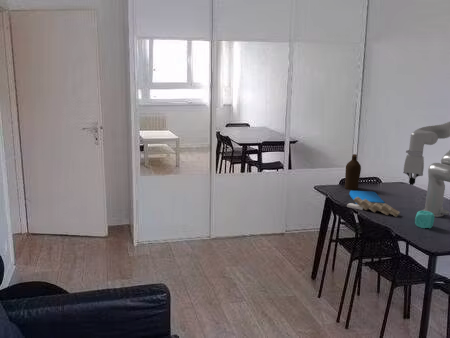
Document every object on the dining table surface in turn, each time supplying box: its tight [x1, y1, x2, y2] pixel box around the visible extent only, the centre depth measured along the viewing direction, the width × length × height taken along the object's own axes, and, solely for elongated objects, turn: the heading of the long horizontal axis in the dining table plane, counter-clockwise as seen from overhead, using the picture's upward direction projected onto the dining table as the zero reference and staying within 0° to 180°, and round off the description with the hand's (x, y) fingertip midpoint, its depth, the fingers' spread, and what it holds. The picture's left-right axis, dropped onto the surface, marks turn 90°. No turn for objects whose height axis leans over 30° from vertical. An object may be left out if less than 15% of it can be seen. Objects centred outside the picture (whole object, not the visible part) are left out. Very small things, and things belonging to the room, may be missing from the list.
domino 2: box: [361, 199, 379, 214], centre depth 287 cm, size 2×5×10 cm
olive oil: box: [344, 153, 362, 191], centre depth 335 cm, size 11×11×25 cm
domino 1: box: [352, 197, 370, 211], centre depth 290 cm, size 2×5×10 cm
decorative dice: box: [414, 210, 435, 229], centre depth 262 cm, size 8×8×8 cm
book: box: [348, 190, 385, 206], centre depth 307 cm, size 17×4×25 cm
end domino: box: [346, 202, 365, 211], centre depth 292 cm, size 2×5×10 cm
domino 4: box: [381, 203, 401, 218], centre depth 280 cm, size 2×5×10 cm
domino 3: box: [373, 203, 391, 216], centre depth 283 cm, size 2×5×10 cm
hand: (411, 184), depth 271 cm, fingers closed
